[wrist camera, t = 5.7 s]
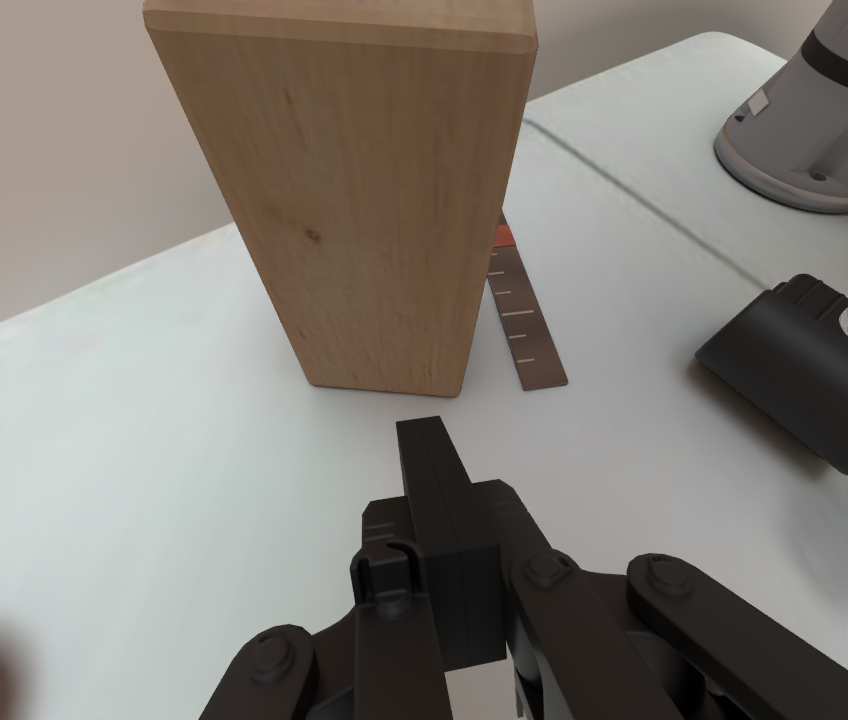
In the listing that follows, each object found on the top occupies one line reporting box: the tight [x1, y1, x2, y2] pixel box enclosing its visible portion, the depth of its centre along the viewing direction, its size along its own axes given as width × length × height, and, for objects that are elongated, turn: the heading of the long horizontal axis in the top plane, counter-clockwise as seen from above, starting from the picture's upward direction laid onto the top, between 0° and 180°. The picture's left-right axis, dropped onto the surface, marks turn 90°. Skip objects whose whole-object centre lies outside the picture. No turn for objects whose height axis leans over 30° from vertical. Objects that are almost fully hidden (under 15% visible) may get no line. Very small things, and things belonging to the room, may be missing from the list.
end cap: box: [695, 274, 848, 475], centre depth 24 cm, size 10×7×7 cm
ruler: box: [487, 210, 568, 390], centre depth 32 cm, size 20×3×1 cm, turn 9°
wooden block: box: [143, 0, 538, 397], centre depth 21 cm, size 10×10×20 cm
